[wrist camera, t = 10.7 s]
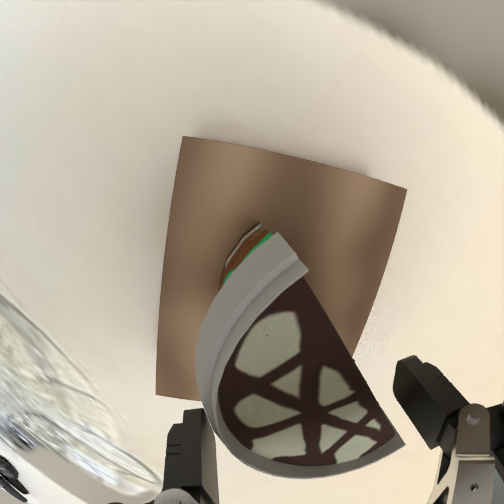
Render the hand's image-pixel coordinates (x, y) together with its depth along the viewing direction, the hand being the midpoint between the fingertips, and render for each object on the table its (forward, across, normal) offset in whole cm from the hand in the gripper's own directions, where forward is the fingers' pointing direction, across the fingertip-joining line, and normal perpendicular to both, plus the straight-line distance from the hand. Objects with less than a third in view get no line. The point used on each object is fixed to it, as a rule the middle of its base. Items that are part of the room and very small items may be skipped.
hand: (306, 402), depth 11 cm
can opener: (+15, +57, +37) cm, 69 cm away
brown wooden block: (+14, 0, 0) cm, 15 cm away
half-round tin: (+8, +1, 0) cm, 9 cm away
